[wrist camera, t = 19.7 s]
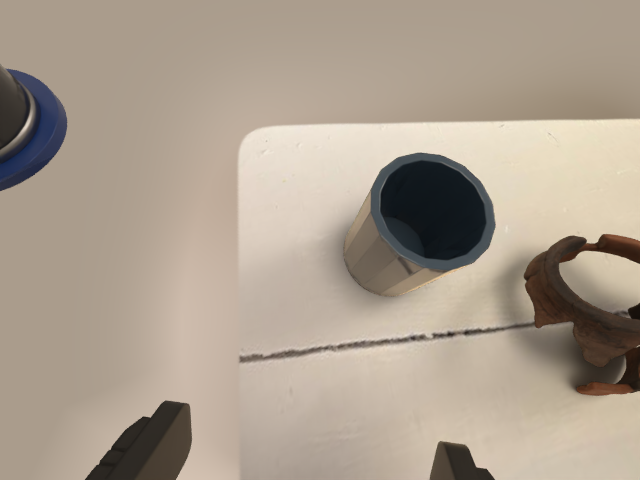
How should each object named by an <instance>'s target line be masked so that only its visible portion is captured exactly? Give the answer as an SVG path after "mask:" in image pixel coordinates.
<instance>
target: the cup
mask: <svg viewBox="0 0 640 480" xmlns="http://www.w3.org/2000/svg"><path fill="white" fill-rule="evenodd" d="M495 225H496V224H495V217H494V209H493V204H492V201H491V199H490V197H489V195H488V194H487V192H486V190H485V188H484V186H483V184H482V183H481V181H480V180H479V179H477V178H476V177H475V176H474V175H473V174H472V173H471V172H470V171H469V170H468V169H467V168H466V167H465V166H463V165H461V164H459V163H457V162H455V161H453V160H451V159H449V158H446V157H444V156H441V155H435V154H427V153H415V154H410V155H406V156H402V157H398V158H396V159H395V160H394V161H392V162H391V163H390V164H388V165H387V166H385V167H384V168H383V169H381V171H380V172H379V174H378V176H377V178H376V180H375V182H374V184H373V186H372V188H371V190H370V192H369V194H368V195H367V197H366V199H365V201H364V203H363V205H362V207H361V209H360V211H359V213H358V215H357V217H356V219H355V221H354V222H353V224H352V226H351V228H350V230H349V232H348V234H347V236H346V239H345V243H344V260H345V263H346V266H347V268H348V271H349V272H350V274H351V276H352V277H353V278H354V280H355V281H356V282H357V283H358V284H359V285H361V286H362V287H363V288H365V289H366V290H368V291H370V292H372V293H374V294H377V295H381V296H398V295H402V294H405V293H407V292H410V291H413V290H415V289H418V288H420V287H422V286H424V285H426V284H429V283H431V282H433V281H435V280H437V279H439V278H442V277H444V276H446V275H448V274H450V273H453V272H455V271H457V270H459V269H461V268H464V267H466V266H468V265H470V264H472V263H474V262H475V261H476V260H477V259H478V258H479V257H480V256H481V255H482V254H483V253H484V252H485V251H486V250H487V249H488V248H489V245H490V242H491V239H492V236H493V233H494V230H495Z"/></svg>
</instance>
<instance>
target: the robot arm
mask: <svg viewBox="0 0 640 480" xmlns="http://www.w3.org/2000/svg"><path fill="white" fill-rule="evenodd" d="M40 117H41V112H40V107H39V103H38V101H37V99H36V98H35V96H34V95H33V94H32V93H31V92H30V91H29V90H28V89H27V88H26V87H25V86H24V85H23V84H22V83H21V82H20V81H18V80H17V79H16V78H15V77H14V76H13V75H12V74H11V73H10V72H9V71H7V70H6V69H5V68H4V67H3V66H2V65H1V64H0V164H1V163H3V162H5V161H7V160H9V159H10V158H12V157H13V156H15V155H16V154H17V153H19V152H20V151H21V150H22V149H23V148H24V147H25V146H26V145H27V144H28V143H29V142H30V141H31V139H32V138H33V136H34V135H35V133H36V131H37V129H38V126H39V123H40ZM191 442H192V433H191V415H190V406H189V404H187V403H180V402H173V401H164V402H163V403H162V404H161V405H160V406H159V407H158V409H157V410H156V411H155V413H154V414H153V415H152V417H151V418H149V417H142V418H141V419H139V420H138V421H137V422H136V423H134V424H133V425H131V426H130V427H129V428H127V429H126V430H125V431H124V432H123V433H122V435H121V436H120V437H119V438H118V440H117V441H116V442H115V443H114V444H113V446H112V448H111V450H109V451H108V452H107V453H106V454H105V456H104V457H103V458H102V459H101V460H100V463H99V465H96V467H95V468H94V469H93V470H92V471H91V473H90V474H89V475H88V476H87V478H86V479H85V480H176V478H177V477H178V475H179V473H180V471H181V469H182V467H183V465H184V463H185V461H186V459H187V457H188V454H189V451H190V447H191ZM430 480H495V479H494V478H493V476H492V475H491V474H490V473H489V471H488V470H487V469H483V468H477V467H476V466H475V463H474V461H473V458H472V456H471V453H470V451H469V449H468V447H467V446H466V445H463V444H456V443H450V442H443V441H440V442H439V443H438V445H437V449H436V454H435V458H434V462H433V466H432V470H431V474H430Z"/></svg>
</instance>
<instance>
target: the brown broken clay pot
mask: <svg viewBox="0 0 640 480" xmlns="http://www.w3.org/2000/svg"><path fill="white" fill-rule="evenodd" d="M586 242H587V240H586V239H585V238H583V237H577V236H568V237H566V238H563V239H561V240H560V241H558V242H557V243H555V244H554V245H552V246H551V247H550V248H549V250H548V251H545V252H543V253H541V254H539V255H538V256H536V257H535V258H534V259H533V260H532V261H531V262H530V263H529V265H528V267H527V269H526V272H525V274H524V279H525V280H526V281H527V282H526V284H525V288H526V291H527V293H528V294H529V296H530V298H531V300H532V302H533V305H534V311H535V316H534V320H535V326H536V328H541V327H542V326H544V325H547V324H555V323H560V322H569V321H571V322H573V323H574V327H573V335H574V337H575V339H576V341H577V343H578V345H579V346H580V348H581V350H582V355H583V357H584V358H585V359H586V360H587V361H589V362H590V363H592V364H594V365H595V366H598V367H604V366H605V365H606V364H607V363H608V362H609V361H610V360H611V358H614V357H618V356H620V355H623V354H624V353H625V357H626V371H625V373H624V375H623V377H622V378H621V380H620V381H619V382H617V383H616V384H610V383H601V382H591V383H589V384H588V385H582V386H578V387H577V391H578V392H579V393H581V394H586V395H594V396H599V395H609V394H626V393H634V392H637V391H640V346H639V347H637V346H638V345H640V303H639V304H638V305H636V306H634V307H631V308H629V309H628V313H629V315H630V317H631V318H632V319H630V318H625V317H621V316H618V315H615V314H612V313H609V312H606V311H603V310H601V309H599V308H597V307H595V306H592V305H591V304H589V303H588V302H586V301H584V300H582V299H581V298H580V297H579V296H578V295H576V294H575V293H574V292H573V291H572V290H571V289H570V288H569V287H568V285H567V284H566V283H565V282H564V280H563V279H562V277H561V275H560V272H559V263H562V262H566V261H570V260H572V259H574V258H575V257H576V256H577V254H578V253H580V252H582V251H598V252H604V253H609V254H613V255H618V256H620V257H624V258H627V259H629V260H632V261H634V262H636V263H639V264H640V241H638V240H635V239H631V238H627V237H623V236H618V235H611V234H603V235H602V236H601V237H600V238H599V241H598V242H597V243H595V244H589V243H586ZM634 347H635V348H634Z"/></svg>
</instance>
